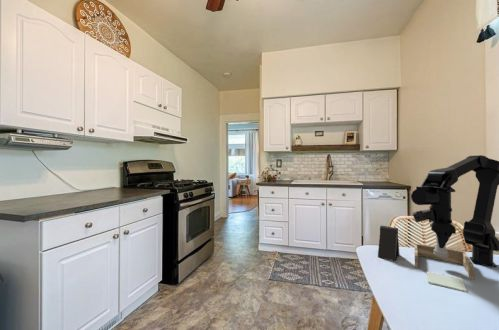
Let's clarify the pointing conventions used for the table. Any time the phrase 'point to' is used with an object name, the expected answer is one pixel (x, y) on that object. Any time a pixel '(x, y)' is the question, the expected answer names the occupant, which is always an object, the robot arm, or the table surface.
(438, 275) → the sage mat
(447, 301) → the table surface
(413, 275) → the table surface
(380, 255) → the phone stand
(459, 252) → the open box
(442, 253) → the rook chess piece
